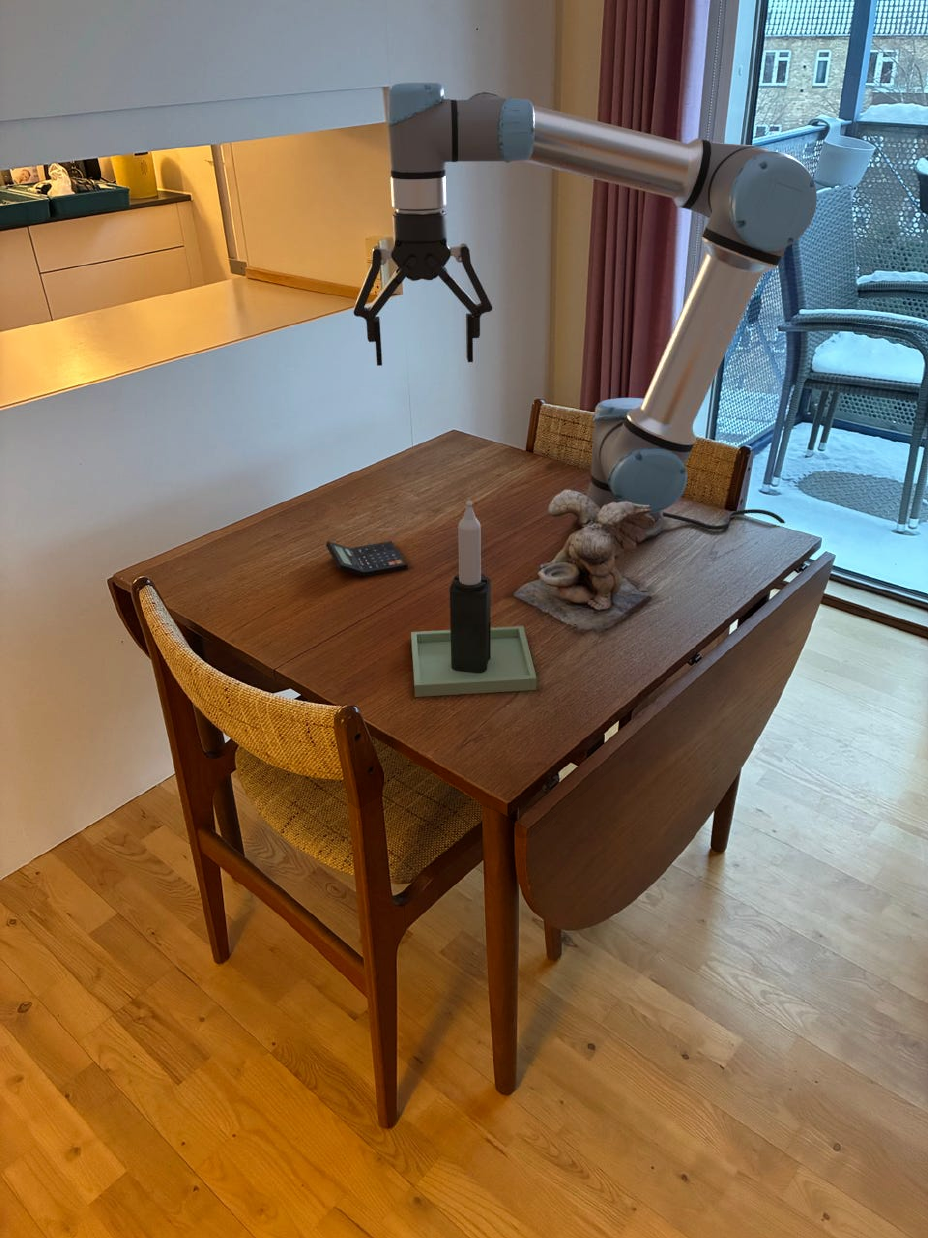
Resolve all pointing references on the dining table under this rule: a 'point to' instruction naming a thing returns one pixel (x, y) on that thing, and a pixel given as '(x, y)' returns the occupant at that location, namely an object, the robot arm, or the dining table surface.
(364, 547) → the calculator
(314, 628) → the dining table surface
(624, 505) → the cherub figurine
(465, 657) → the candle
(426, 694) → the tray
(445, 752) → the dining table surface
